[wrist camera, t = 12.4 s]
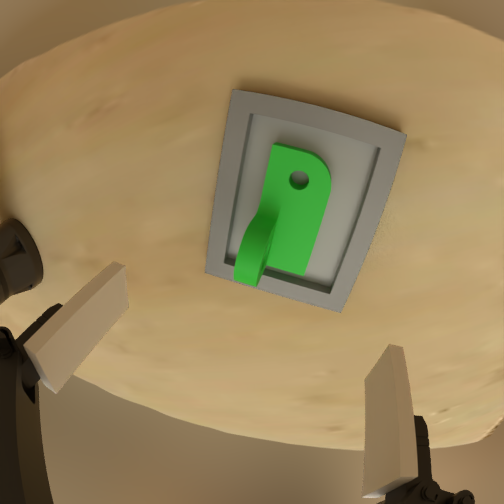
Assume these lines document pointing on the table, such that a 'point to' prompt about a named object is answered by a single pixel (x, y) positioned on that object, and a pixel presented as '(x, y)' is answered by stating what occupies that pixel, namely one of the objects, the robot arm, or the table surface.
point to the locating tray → (342, 184)
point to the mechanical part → (285, 215)
